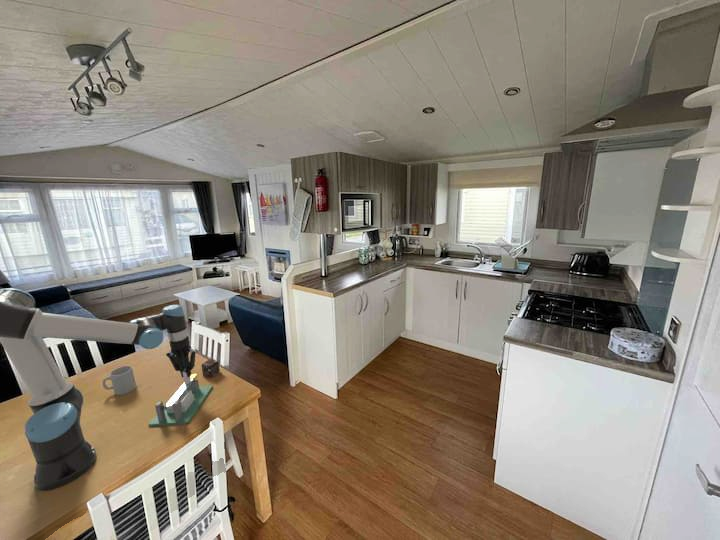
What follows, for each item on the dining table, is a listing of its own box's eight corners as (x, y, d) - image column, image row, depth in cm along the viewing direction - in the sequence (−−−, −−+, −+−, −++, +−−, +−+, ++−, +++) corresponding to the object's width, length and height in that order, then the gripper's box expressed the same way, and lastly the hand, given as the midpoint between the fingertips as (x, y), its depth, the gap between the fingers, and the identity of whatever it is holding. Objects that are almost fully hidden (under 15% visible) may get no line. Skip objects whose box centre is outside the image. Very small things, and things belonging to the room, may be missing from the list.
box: (202, 376, 150) (200, 364, 148) (211, 370, 156) (209, 358, 154) (211, 378, 148) (209, 366, 147) (220, 371, 154) (218, 360, 152)
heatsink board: (188, 423, 118) (184, 404, 115) (148, 426, 117) (144, 407, 114) (212, 387, 141) (210, 370, 139) (180, 389, 140) (177, 372, 138)
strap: (173, 410, 117) (173, 407, 117) (161, 410, 117) (160, 407, 116) (199, 376, 138) (198, 373, 138) (188, 376, 138) (188, 374, 138)
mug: (137, 382, 146) (133, 363, 143) (135, 391, 139) (130, 371, 136) (107, 390, 139) (102, 371, 137) (103, 400, 132) (98, 380, 130)
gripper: (197, 333, 130) (205, 376, 136) (168, 334, 129) (178, 378, 135) (189, 341, 123) (198, 386, 129) (158, 342, 122) (169, 388, 128)
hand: (187, 382), depth 132 cm, fingers closed
